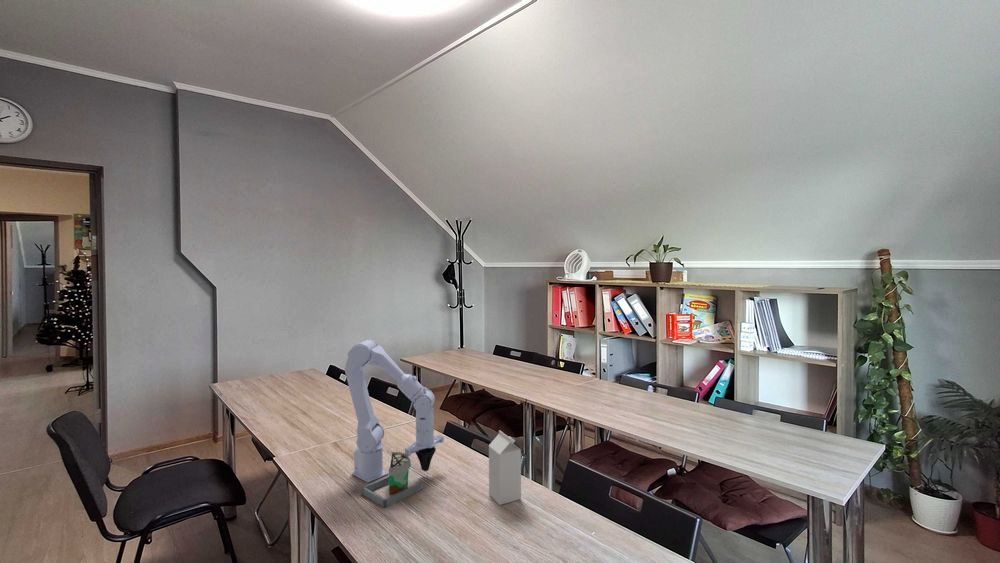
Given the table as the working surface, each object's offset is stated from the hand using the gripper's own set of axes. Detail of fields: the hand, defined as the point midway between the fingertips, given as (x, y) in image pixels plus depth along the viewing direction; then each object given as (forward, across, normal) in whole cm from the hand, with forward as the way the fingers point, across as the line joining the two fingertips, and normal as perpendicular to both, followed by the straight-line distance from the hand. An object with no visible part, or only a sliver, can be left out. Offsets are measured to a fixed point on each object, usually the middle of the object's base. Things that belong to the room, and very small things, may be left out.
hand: (425, 469), depth 148 cm
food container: (+2, -11, -2) cm, 11 cm away
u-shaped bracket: (+2, -13, 0) cm, 13 cm away
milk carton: (+2, +7, -28) cm, 29 cm away
